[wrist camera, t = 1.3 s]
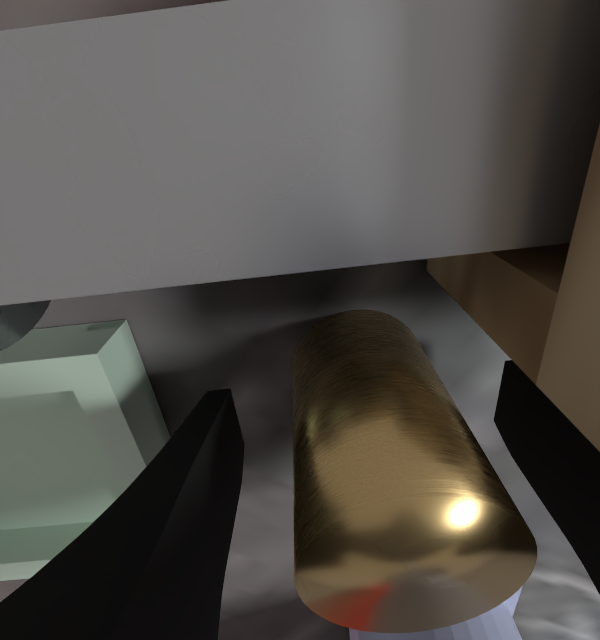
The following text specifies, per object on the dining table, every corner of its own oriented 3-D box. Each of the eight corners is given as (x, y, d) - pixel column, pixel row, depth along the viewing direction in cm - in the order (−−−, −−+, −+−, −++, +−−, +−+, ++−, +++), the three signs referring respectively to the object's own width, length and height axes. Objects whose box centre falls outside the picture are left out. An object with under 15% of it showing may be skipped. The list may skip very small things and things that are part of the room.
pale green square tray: (200, 516, 15) (189, 564, 13) (-17, 536, 15) (-54, 585, 13) (126, 319, 10) (97, 353, 9) (-175, 351, 11) (-256, 390, 9)
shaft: (588, 230, 9) (928, 346, 4) (53, 289, 10) (-195, 456, 5) (667, -74, 7) (1753, -656, 2) (-68, 25, 7) (-899, -214, 2)
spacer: (417, 409, 12) (514, 624, 7) (299, 421, 12) (306, 641, 7) (424, 302, 10) (562, 484, 5) (285, 317, 11) (279, 509, 5)
